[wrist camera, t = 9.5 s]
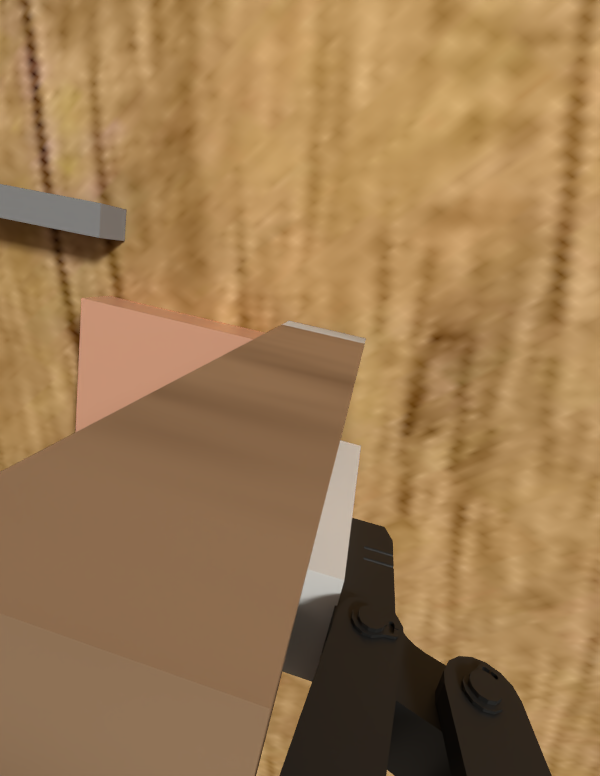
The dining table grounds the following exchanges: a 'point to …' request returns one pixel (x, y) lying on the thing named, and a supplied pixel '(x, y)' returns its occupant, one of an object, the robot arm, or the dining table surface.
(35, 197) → the slate frame
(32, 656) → the walnut block
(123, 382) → the terracotta tile
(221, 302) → the dining table surface
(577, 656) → the dining table surface
